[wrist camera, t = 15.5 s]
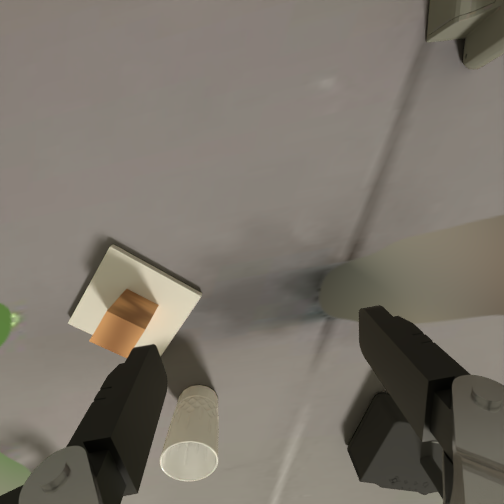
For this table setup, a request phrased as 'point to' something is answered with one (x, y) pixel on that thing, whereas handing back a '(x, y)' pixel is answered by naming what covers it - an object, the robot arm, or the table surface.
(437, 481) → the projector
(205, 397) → the white cup
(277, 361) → the table surface
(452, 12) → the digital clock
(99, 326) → the orange block
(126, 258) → the pad
